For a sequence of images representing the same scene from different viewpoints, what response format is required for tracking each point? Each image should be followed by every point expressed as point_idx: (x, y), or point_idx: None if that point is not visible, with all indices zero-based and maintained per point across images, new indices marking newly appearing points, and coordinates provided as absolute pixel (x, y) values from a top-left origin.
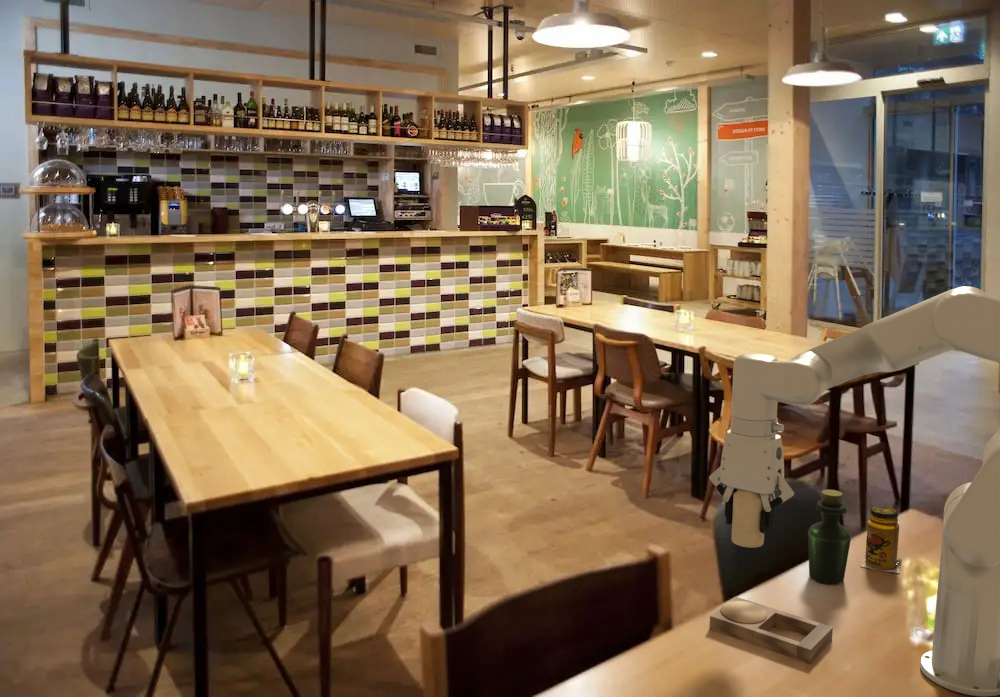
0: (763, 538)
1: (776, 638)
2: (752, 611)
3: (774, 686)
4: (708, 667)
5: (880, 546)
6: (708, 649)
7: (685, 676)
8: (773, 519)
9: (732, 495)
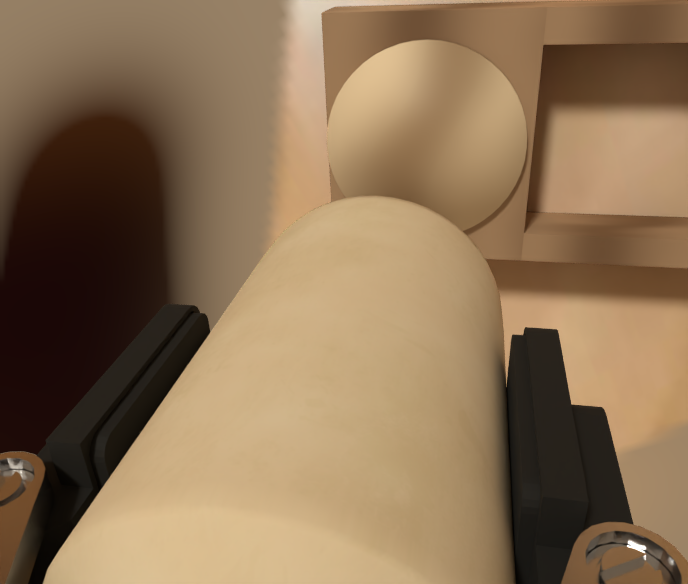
0: (503, 332)
1: (618, 263)
2: (455, 124)
3: (662, 423)
4: None
5: None
6: None
7: None
8: (614, 450)
9: (43, 569)
